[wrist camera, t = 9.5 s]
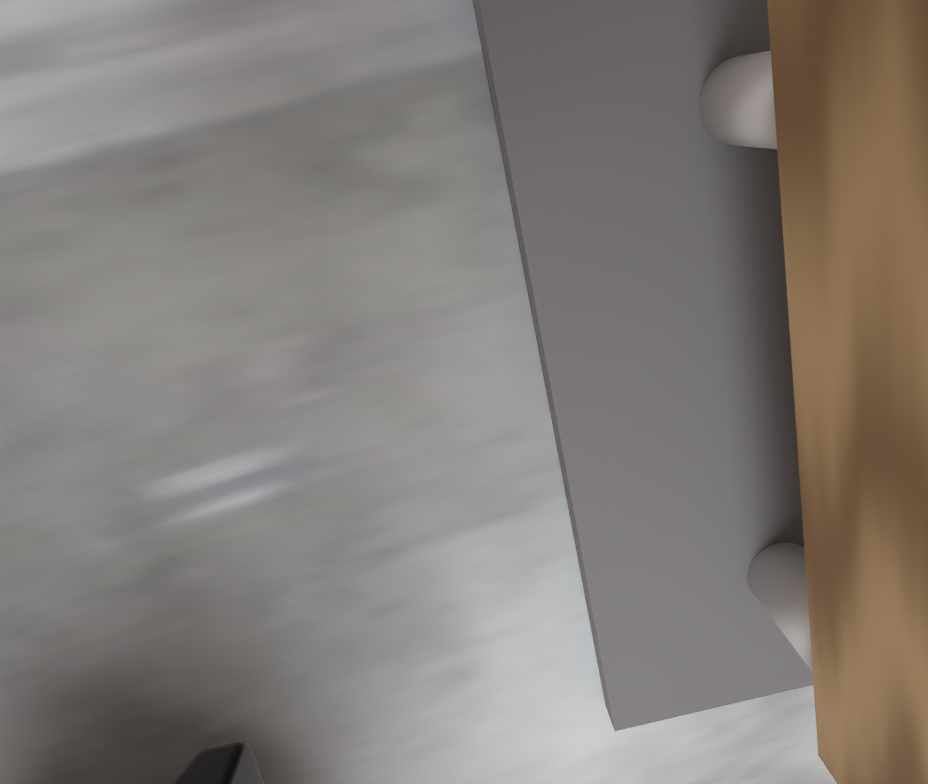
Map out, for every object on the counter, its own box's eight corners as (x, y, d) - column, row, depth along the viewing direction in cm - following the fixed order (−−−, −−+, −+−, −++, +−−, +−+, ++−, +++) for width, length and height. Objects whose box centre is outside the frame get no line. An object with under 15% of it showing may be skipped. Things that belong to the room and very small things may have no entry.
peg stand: (1065, 598, 23) (1236, 721, 18) (605, 706, 23) (659, 857, 18) (1118, -194, 16) (1411, -318, 12) (464, -45, 16) (492, -111, 11)
